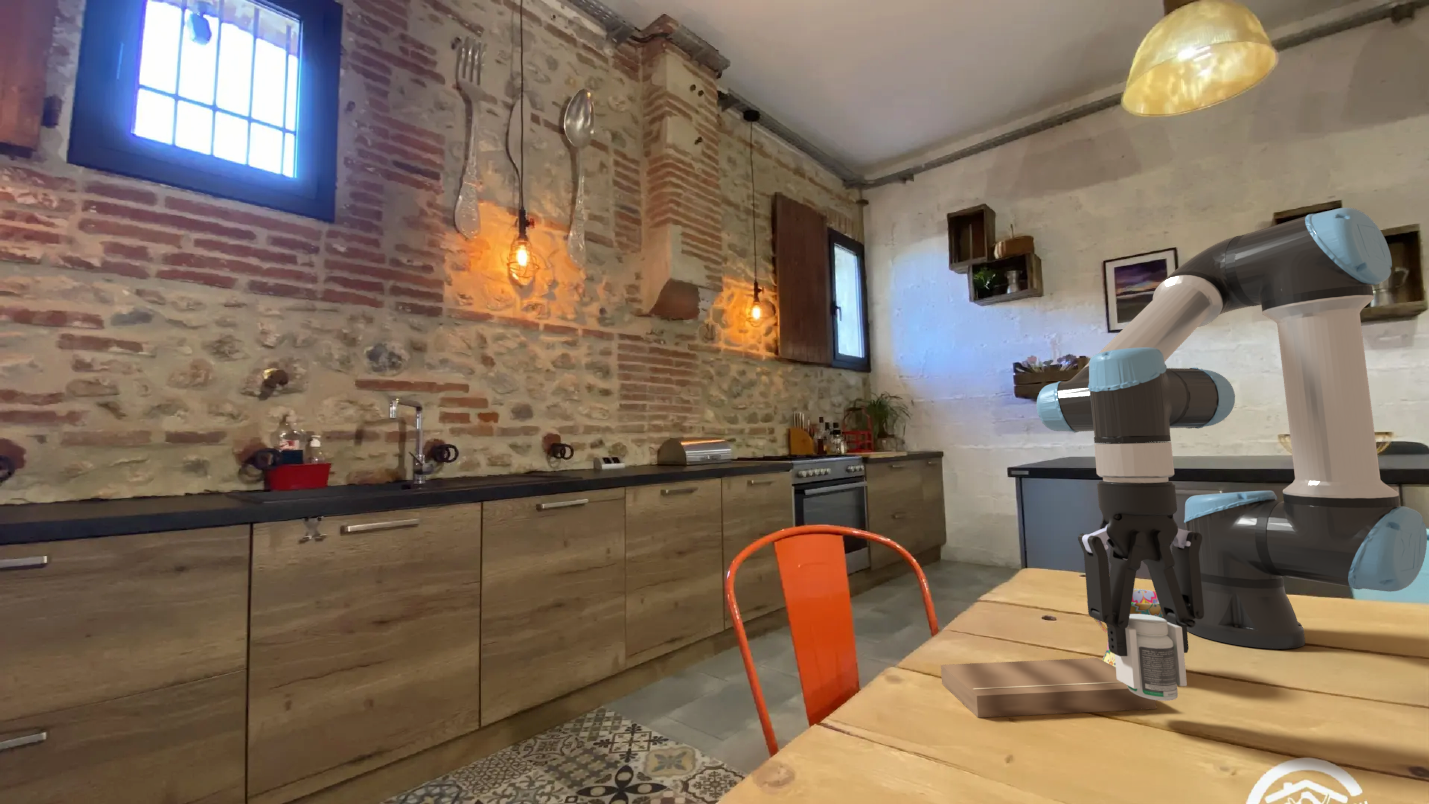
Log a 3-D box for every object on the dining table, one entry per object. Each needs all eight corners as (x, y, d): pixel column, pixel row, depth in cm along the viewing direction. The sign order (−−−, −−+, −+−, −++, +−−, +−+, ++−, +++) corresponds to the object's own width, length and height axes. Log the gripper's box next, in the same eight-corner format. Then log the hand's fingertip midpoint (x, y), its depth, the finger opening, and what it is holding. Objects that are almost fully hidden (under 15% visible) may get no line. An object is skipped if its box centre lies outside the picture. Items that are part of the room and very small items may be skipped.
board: (1098, 676, 81) (1097, 657, 81) (1156, 708, 71) (1154, 686, 71) (941, 683, 80) (940, 664, 80) (977, 717, 70) (976, 695, 70)
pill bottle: (1188, 697, 67) (1181, 621, 67) (1159, 705, 65) (1153, 626, 65) (1144, 682, 71) (1139, 610, 72) (1117, 689, 69) (1111, 615, 70)
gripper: (1180, 475, 74) (1197, 666, 72) (1042, 480, 73) (1056, 673, 71) (1235, 478, 66) (1256, 692, 65) (1082, 484, 66) (1099, 700, 64)
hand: (1151, 682), depth 68 cm, fingers closed on pill bottle, 5 cm apart
